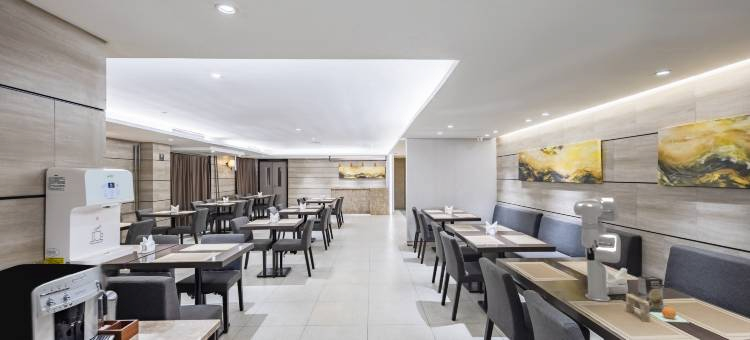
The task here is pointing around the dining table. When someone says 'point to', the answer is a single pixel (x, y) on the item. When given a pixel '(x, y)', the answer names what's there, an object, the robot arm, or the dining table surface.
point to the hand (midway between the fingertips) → (590, 260)
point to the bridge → (643, 306)
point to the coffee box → (651, 291)
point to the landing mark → (662, 318)
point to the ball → (668, 313)
